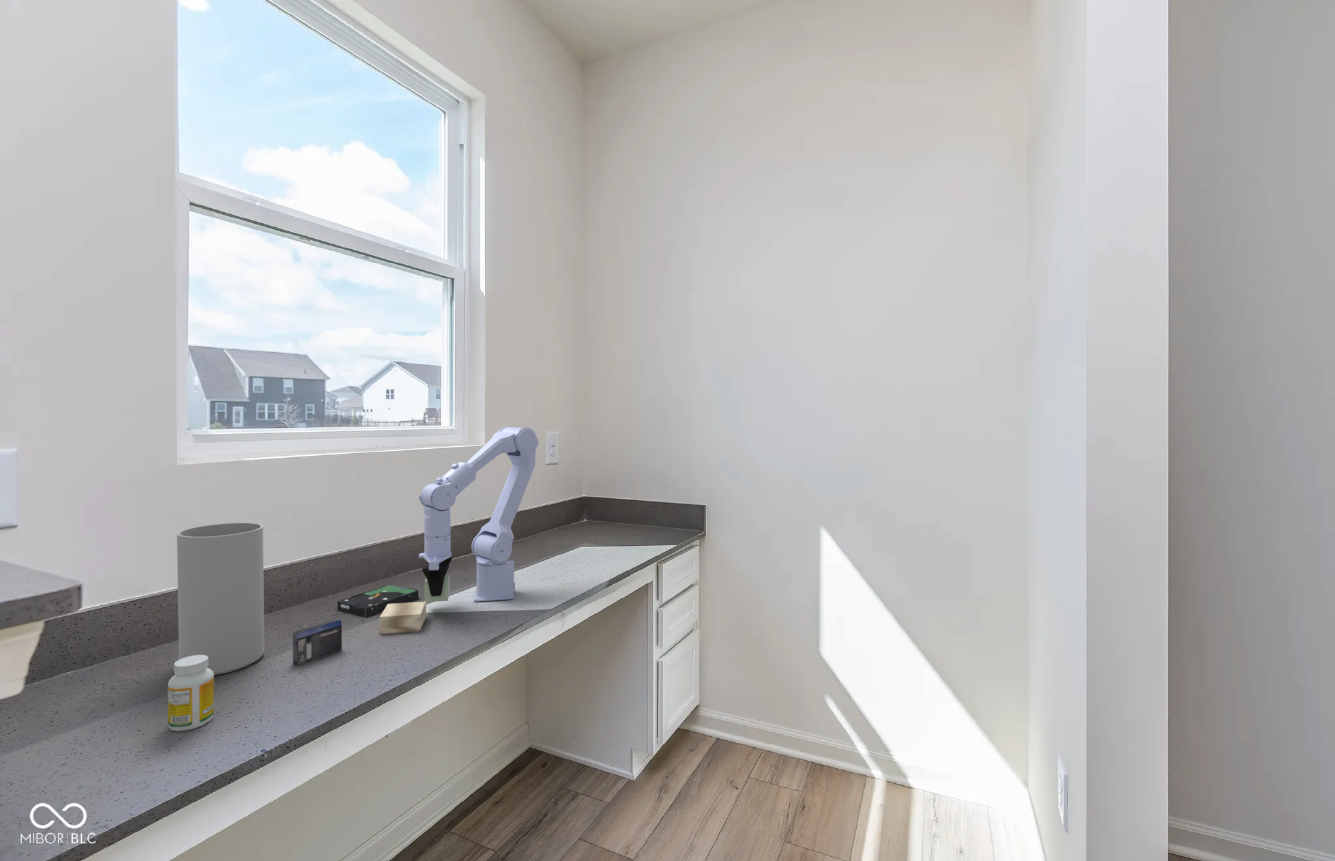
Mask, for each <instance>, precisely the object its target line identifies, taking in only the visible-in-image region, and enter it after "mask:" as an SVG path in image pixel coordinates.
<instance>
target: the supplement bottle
mask: <svg viewBox="0 0 1335 861" xmlns="http://www.w3.org/2000/svg"><path fill="white" fill-rule="evenodd" d="M208 665H209V663H208V656H206V655H194V656H189V657H185V658H182V659H180V660H179V659H177V660H176V661H175V662H174V664H173V673H174V675H173V676H172V677H171V678H169V680H168V683H167V726H168V729H169V730H171V731H172V732H187V731H190V730H194V729H197V728H200V727H201V726H204V725H206V724H207V723H209V722H210V721H212V720H213V718H214V715H215V694H214V693H215V675H214V673H213V671H212V670H211V669H209V668H207V667H208Z"/></svg>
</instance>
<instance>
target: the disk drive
mask: <svg viewBox="0 0 1335 861" xmlns="http://www.w3.org/2000/svg"><path fill="white" fill-rule="evenodd" d="M419 597H420V596H419V590H418V589H414V588H410V587H407V586H404V587H402V586H397V585H394V584H390V585H389V584H388V585H385V586H384V585H383V586H380V587H379V588H375V589H371V590H369V591H366V592H363V593H359V594H355V595H353V596H350V597H346V598H343V599H340V600H337V606H336V608H337V611H340V612H344V613H347V614H351V615H355V616H358V617H363V618H368V617H371V616H375V615H377V614H379V613H382V612H383V611H384V609H385V608H386V606H387V604H396V603H412V602H413V601H414V602H415V601H416V600H418V599H419Z"/></svg>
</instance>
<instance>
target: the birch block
mask: <svg viewBox="0 0 1335 861" xmlns="http://www.w3.org/2000/svg"><path fill="white" fill-rule="evenodd" d="M426 619H427V602H425V601H416V602H415V601H414V602H413V601H411V602H408V603H396V604H387V606H386V608H385V609H384V611H383V612H381V614H380V616H379V635H387V634H388V635H389V634H398V633H413V632H414V633H415V632H421V631H422V628H423V626H424V624H425V621H426Z"/></svg>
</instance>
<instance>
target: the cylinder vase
mask: <svg viewBox="0 0 1335 861" xmlns="http://www.w3.org/2000/svg"><path fill="white" fill-rule="evenodd" d="M176 545H177V546H176V548H177V549H176V553H177V554H176V555H177V556H176V558H177V559H176V560H177V562H176V563H177V616H178V618H177V619H178V620H177V622H178V624H177V625H178V628H177V629H178V631H177V632H178V660H180V659H182V658H185V657H189V656H194V655H206V656H208V663H209V665H208V667H207V668H209V669H211V670H212V671H213V673H214V676H218V675H223V674H228V673H231V672H234V671H238V670H241V669H243V668H246V667H248V666H250V665H252V664H254V663H255V662H257V661H259V660H260V659H261V657H262V656H263V655H264V652H265V594H264V593H265V591H264V584H265V582H264V525H263V524H261V523H258V522H228V523H217V524H206V525H201V526H195V527H194V526H193V527H190V528H186V529H183V530H182V529H181V530H180V531H178V532H176Z"/></svg>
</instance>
